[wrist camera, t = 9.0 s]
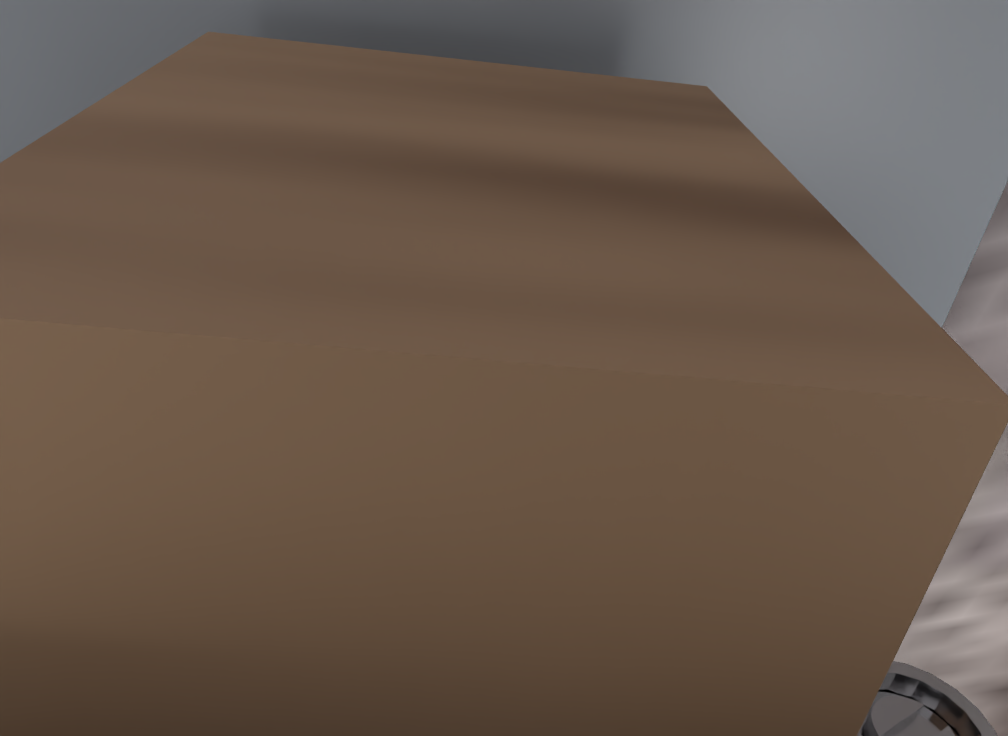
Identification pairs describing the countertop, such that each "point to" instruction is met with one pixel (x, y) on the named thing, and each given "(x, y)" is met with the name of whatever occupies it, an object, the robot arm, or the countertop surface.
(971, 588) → the countertop surface
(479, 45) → the baseplate
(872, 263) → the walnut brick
